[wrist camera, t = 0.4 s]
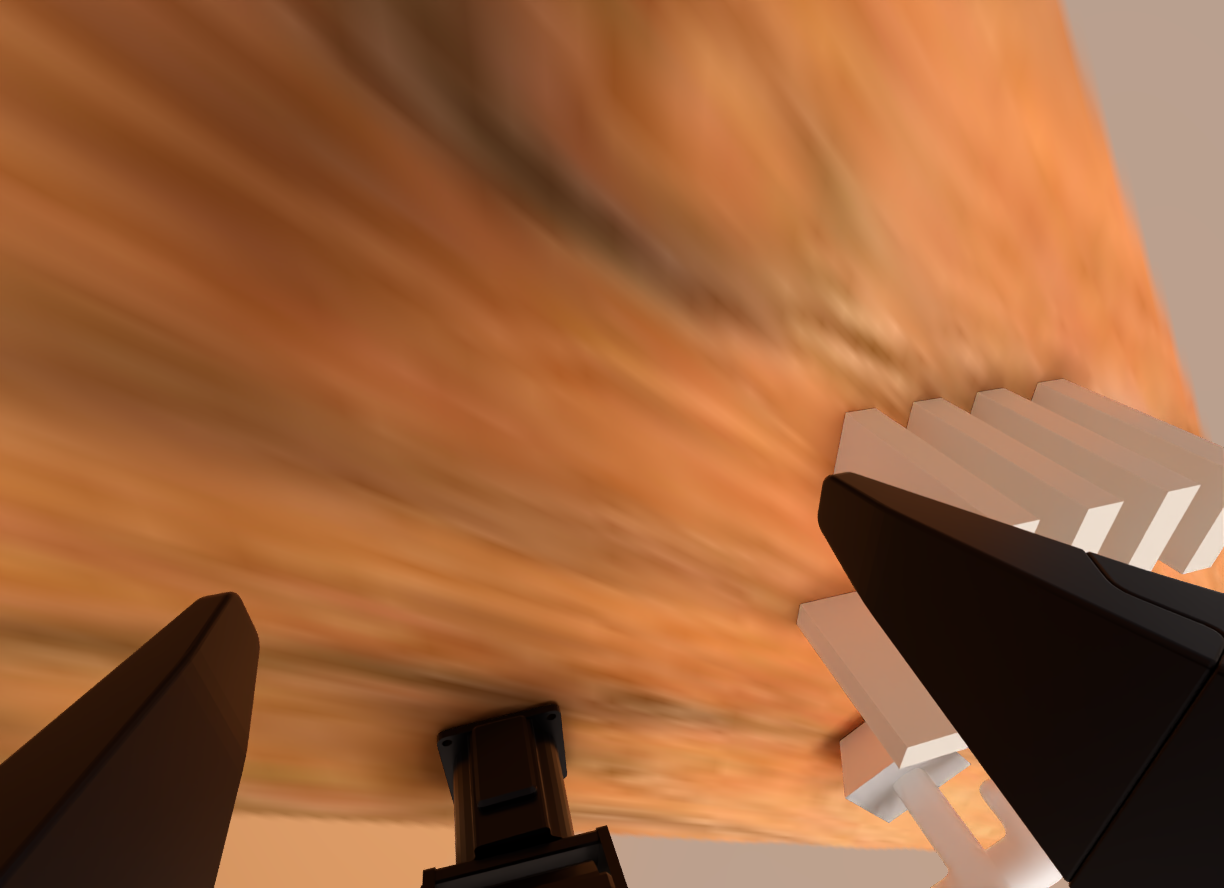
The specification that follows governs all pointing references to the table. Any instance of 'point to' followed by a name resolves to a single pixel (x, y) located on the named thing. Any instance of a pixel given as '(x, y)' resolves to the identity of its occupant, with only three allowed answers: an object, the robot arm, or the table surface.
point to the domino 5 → (1218, 505)
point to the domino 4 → (1099, 474)
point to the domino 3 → (1019, 474)
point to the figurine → (943, 816)
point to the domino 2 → (877, 680)
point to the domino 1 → (919, 468)
